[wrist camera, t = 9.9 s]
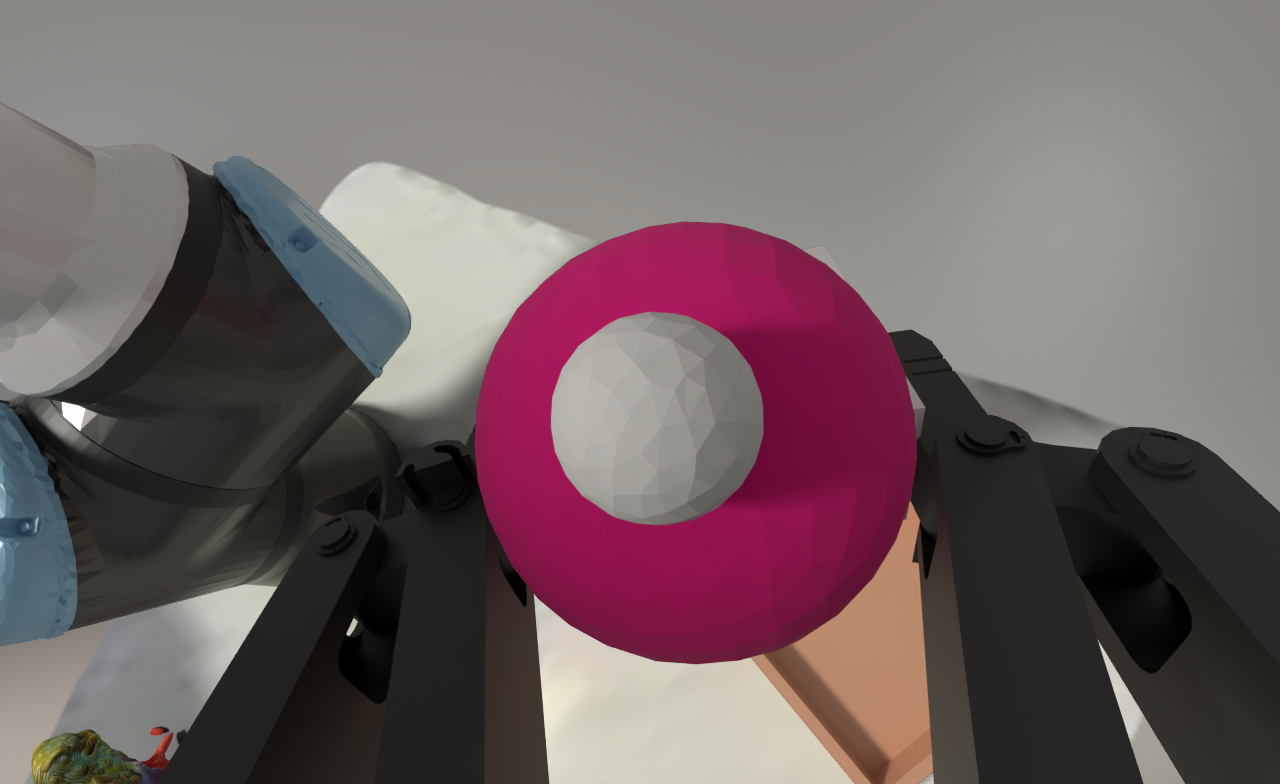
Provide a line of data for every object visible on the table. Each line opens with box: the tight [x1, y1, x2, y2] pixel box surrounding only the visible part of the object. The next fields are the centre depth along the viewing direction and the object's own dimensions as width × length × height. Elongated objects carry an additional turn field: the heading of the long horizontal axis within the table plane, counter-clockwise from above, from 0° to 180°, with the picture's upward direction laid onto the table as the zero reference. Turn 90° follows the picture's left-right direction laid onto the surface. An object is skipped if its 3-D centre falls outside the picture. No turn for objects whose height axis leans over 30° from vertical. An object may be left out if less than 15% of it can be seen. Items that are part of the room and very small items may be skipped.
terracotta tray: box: [751, 501, 933, 784], centre depth 35 cm, size 16×16×3 cm
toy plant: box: [32, 727, 173, 784], centre depth 40 cm, size 8×10×12 cm
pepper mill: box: [475, 222, 917, 664], centre depth 13 cm, size 7×7×20 cm
